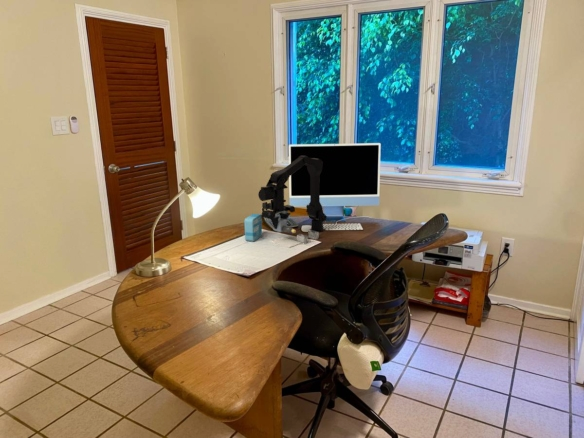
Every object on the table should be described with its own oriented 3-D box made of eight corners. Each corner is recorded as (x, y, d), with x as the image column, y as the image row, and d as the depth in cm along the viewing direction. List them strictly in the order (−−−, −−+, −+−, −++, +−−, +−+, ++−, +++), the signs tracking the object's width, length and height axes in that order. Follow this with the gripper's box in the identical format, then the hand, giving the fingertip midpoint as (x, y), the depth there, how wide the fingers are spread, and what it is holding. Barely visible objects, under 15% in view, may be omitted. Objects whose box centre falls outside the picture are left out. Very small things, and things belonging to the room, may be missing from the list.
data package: (253, 242, 219) (252, 219, 216) (245, 241, 220) (244, 218, 217) (262, 235, 230) (261, 213, 227) (254, 234, 231) (253, 213, 228)
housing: (311, 236, 228) (311, 229, 227) (318, 238, 224) (318, 231, 223) (296, 241, 219) (296, 234, 218) (304, 243, 216) (304, 236, 215)
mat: (281, 237, 226) (281, 236, 226) (301, 243, 217) (301, 242, 217) (269, 241, 220) (269, 241, 220) (289, 247, 211) (289, 247, 211)
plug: (279, 228, 222) (279, 217, 221) (297, 233, 214) (297, 222, 213) (273, 230, 219) (273, 219, 218) (291, 235, 211) (291, 224, 210)
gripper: (279, 192, 227) (280, 221, 231) (253, 198, 214) (254, 229, 218) (295, 195, 220) (295, 225, 224) (269, 202, 207) (270, 233, 211)
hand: (278, 227), depth 220 cm, fingers closed on plug, 4 cm apart
